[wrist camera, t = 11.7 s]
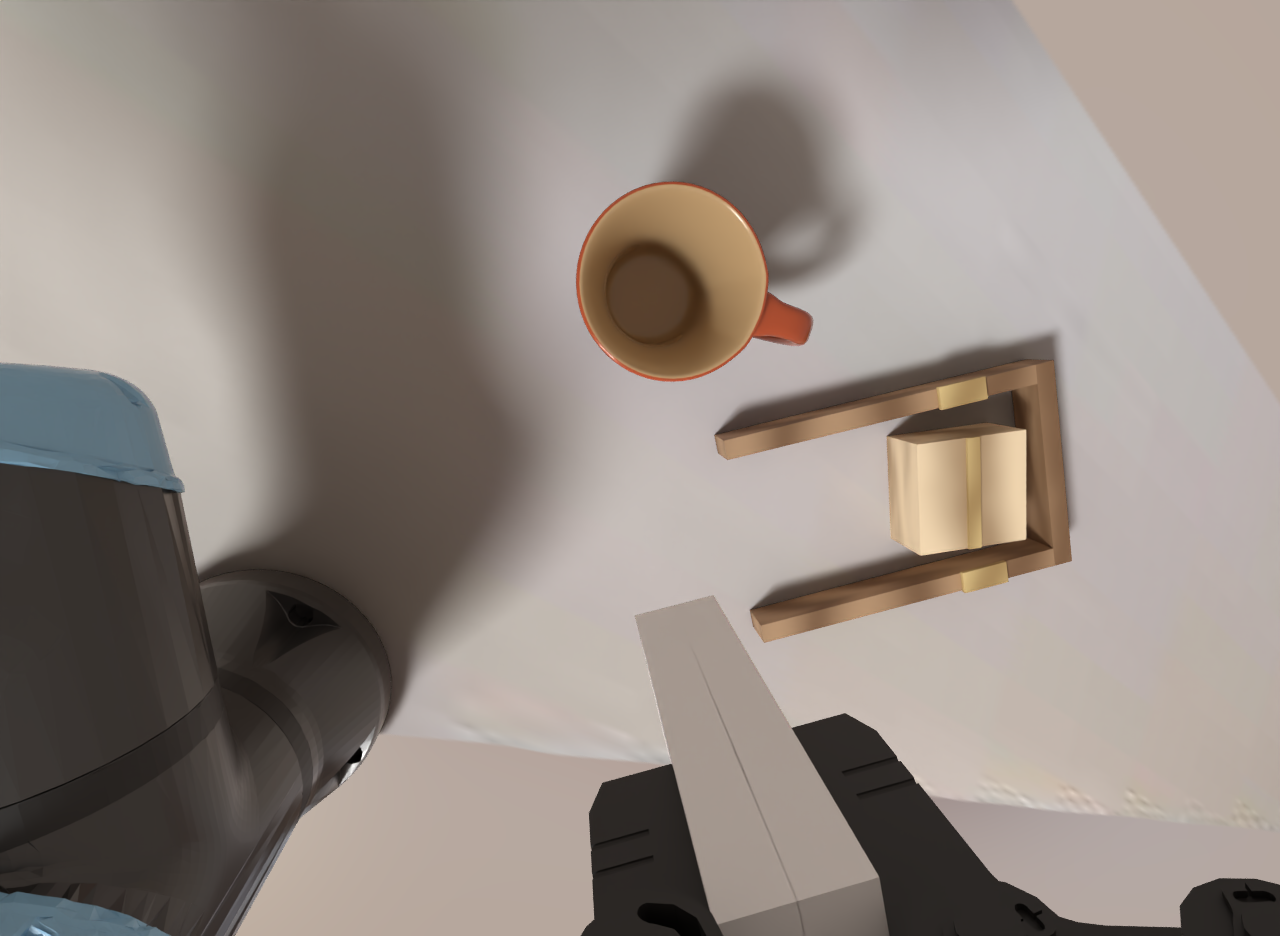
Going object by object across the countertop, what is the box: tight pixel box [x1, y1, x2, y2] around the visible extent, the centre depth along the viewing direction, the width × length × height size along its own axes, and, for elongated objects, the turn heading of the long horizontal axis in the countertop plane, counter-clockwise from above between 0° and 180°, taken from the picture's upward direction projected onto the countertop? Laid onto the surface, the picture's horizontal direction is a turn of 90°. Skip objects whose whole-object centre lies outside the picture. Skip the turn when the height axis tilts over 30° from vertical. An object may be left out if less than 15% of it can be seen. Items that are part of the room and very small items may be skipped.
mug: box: [576, 181, 813, 382], centre depth 35 cm, size 12×9×10 cm
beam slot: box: [714, 359, 1072, 643], centre depth 42 cm, size 21×14×3 cm, turn 103°
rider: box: [887, 423, 1026, 556], centre depth 42 cm, size 7×7×4 cm
